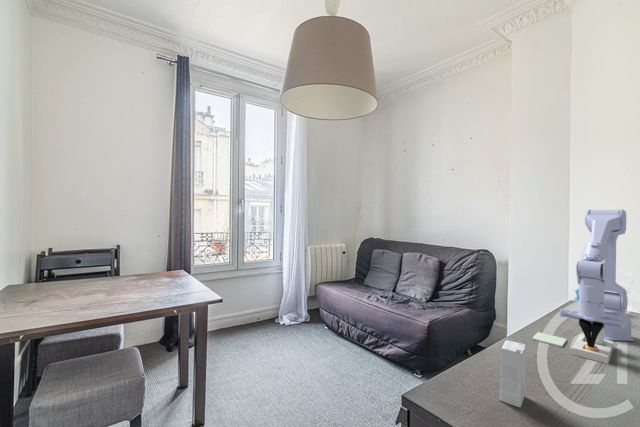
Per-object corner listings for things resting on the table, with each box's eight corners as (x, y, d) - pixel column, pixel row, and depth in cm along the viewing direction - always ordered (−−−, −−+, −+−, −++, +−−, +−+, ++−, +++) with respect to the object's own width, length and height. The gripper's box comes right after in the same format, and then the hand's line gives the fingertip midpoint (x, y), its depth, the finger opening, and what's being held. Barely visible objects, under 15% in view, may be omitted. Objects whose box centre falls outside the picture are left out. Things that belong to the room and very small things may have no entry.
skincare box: (503, 389, 73) (504, 338, 73) (526, 396, 70) (526, 344, 70) (498, 401, 68) (499, 347, 68) (522, 409, 65) (523, 353, 65)
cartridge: (595, 344, 99) (596, 319, 99) (609, 351, 94) (609, 325, 94) (580, 344, 99) (580, 319, 99) (593, 350, 94) (593, 324, 94)
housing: (580, 339, 102) (580, 333, 102) (613, 347, 96) (613, 341, 96) (571, 354, 91) (571, 347, 91) (608, 364, 86) (608, 357, 86)
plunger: (585, 350, 93) (585, 343, 93) (597, 353, 91) (598, 346, 91) (584, 353, 91) (584, 345, 91) (596, 356, 89) (596, 348, 89)
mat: (537, 333, 108) (537, 331, 108) (566, 340, 102) (566, 338, 102) (531, 339, 102) (531, 338, 102) (561, 347, 96) (561, 345, 96)
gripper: (558, 298, 94) (557, 342, 93) (624, 309, 83) (624, 359, 83) (562, 294, 98) (562, 336, 98) (626, 304, 88) (626, 351, 88)
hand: (591, 346), depth 91 cm, fingers closed, pressing on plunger
